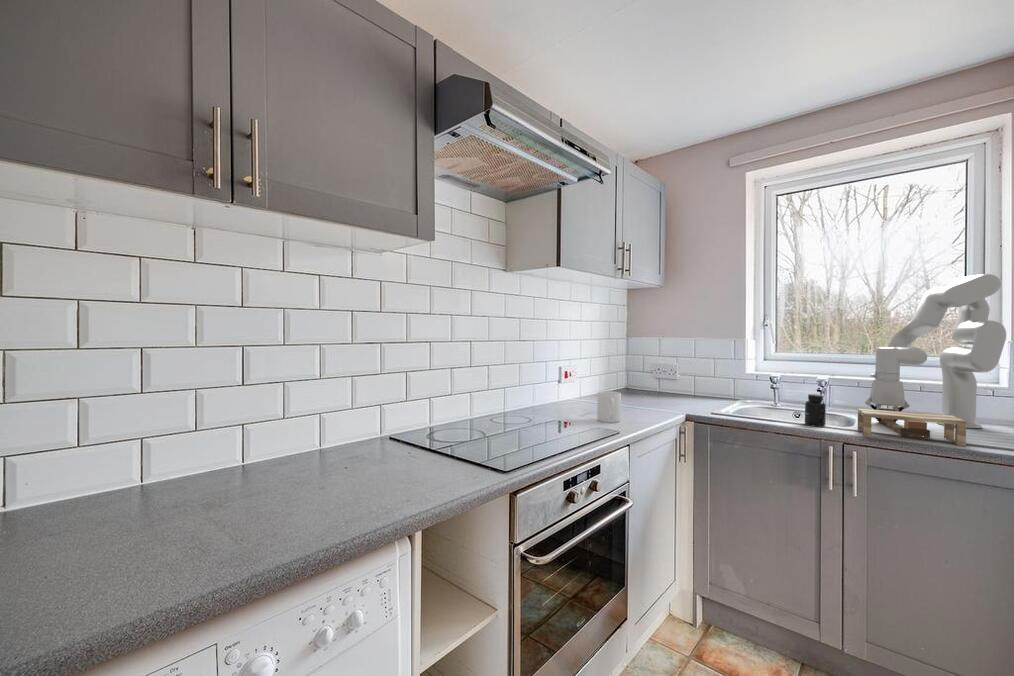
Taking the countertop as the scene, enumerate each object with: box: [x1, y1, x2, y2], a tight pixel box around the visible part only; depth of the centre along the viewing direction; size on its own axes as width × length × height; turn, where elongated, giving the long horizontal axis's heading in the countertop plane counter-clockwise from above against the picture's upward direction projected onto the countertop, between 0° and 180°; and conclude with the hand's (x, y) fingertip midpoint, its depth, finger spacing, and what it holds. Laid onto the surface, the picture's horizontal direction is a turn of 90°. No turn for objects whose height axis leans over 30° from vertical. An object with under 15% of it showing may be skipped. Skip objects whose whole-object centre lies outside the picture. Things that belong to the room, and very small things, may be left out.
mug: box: [596, 390, 622, 424], centre depth 178 cm, size 10×12×12 cm
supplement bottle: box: [804, 393, 827, 427], centre depth 174 cm, size 7×7×12 cm
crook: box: [878, 407, 931, 438], centre depth 166 cm, size 26×9×6 cm, turn 150°
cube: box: [903, 420, 928, 430], centre depth 158 cm, size 5×5×5 cm
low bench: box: [857, 408, 967, 447], centre depth 153 cm, size 12×26×8 cm, turn 60°
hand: (886, 421), depth 177 cm, fingers closed on crook, 4 cm apart
